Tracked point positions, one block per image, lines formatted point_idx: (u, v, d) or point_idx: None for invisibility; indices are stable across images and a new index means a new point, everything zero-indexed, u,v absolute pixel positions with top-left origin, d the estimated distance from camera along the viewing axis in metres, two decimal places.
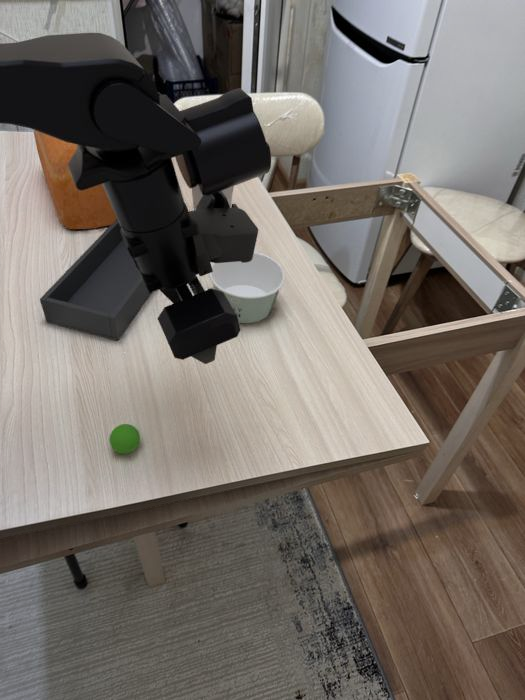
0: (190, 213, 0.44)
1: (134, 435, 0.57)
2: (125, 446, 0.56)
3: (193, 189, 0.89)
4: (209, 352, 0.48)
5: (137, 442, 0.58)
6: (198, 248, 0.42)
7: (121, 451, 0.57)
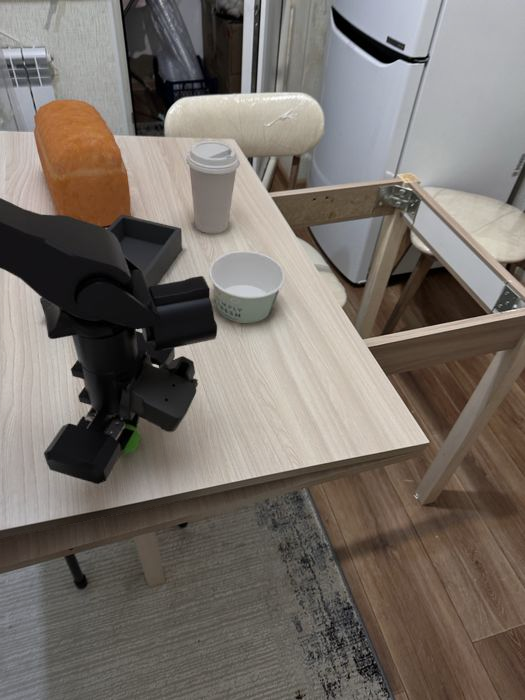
0: (149, 367, 0.50)
1: (134, 434, 0.57)
2: None
3: (193, 189, 0.89)
4: None
5: (137, 442, 0.58)
6: (123, 400, 0.48)
7: None
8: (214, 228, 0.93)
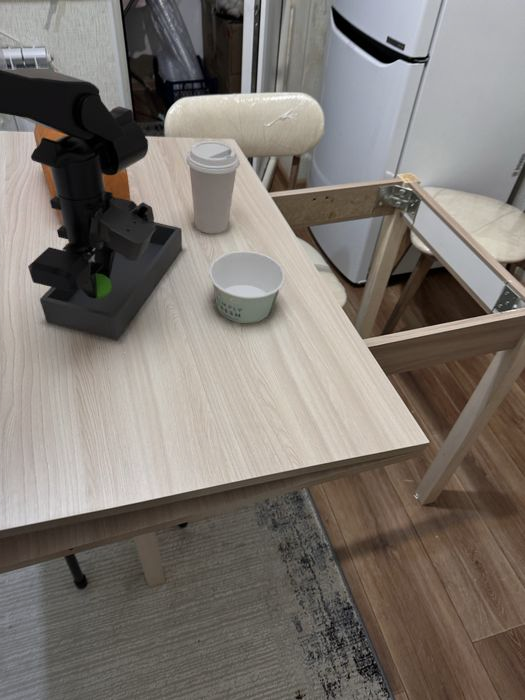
0: (114, 207, 0.61)
1: (106, 280, 0.68)
2: (98, 288, 0.68)
3: (193, 189, 0.89)
4: (88, 288, 0.66)
5: (109, 288, 0.69)
6: (92, 227, 0.59)
7: None
8: (214, 228, 0.93)
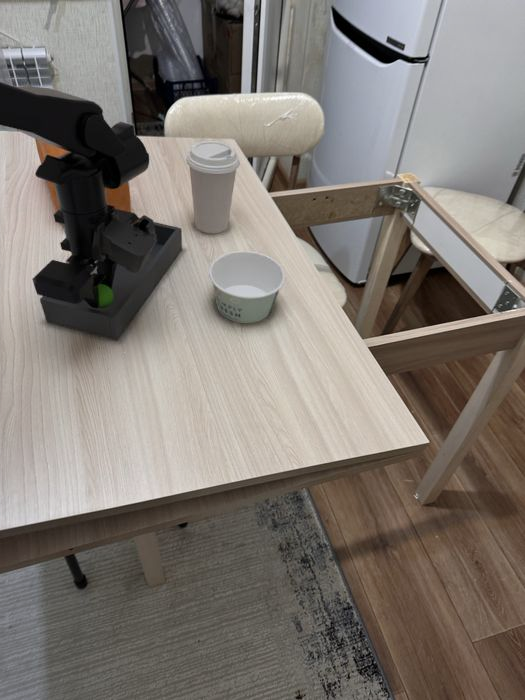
0: (116, 221, 0.63)
1: (108, 291, 0.70)
2: (101, 298, 0.69)
3: (193, 189, 0.89)
4: (90, 298, 0.68)
5: (111, 298, 0.70)
6: (95, 241, 0.60)
7: None
8: (214, 228, 0.93)
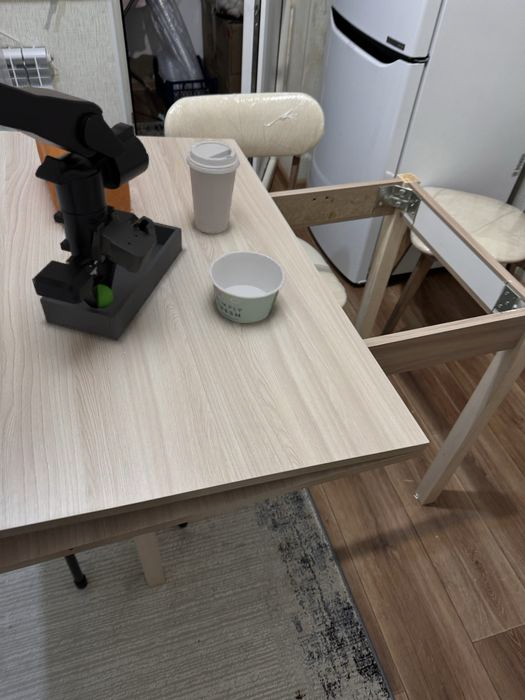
0: (116, 221, 0.63)
1: (107, 291, 0.70)
2: (100, 299, 0.69)
3: (193, 189, 0.89)
4: (90, 299, 0.68)
5: (110, 298, 0.70)
6: (94, 241, 0.60)
7: None
8: (214, 228, 0.93)
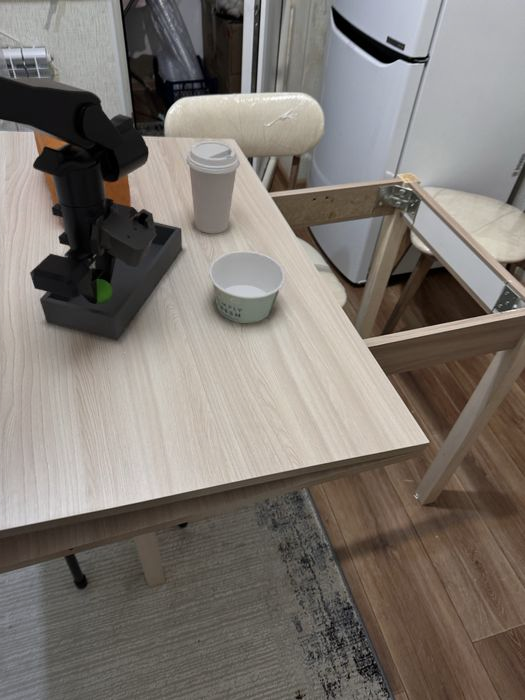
0: (115, 214, 0.62)
1: (106, 286, 0.69)
2: (99, 294, 0.69)
3: (193, 189, 0.89)
4: (89, 294, 0.67)
5: (109, 293, 0.70)
6: (93, 234, 0.60)
7: None
8: (214, 228, 0.93)
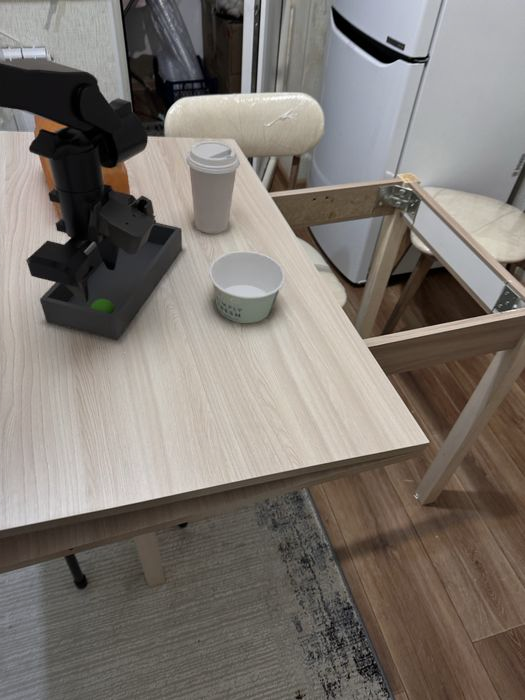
0: (114, 201, 0.61)
1: (109, 306, 0.71)
2: None
3: (193, 189, 0.89)
4: (79, 291, 0.64)
5: None
6: (91, 221, 0.58)
7: None
8: (214, 228, 0.93)
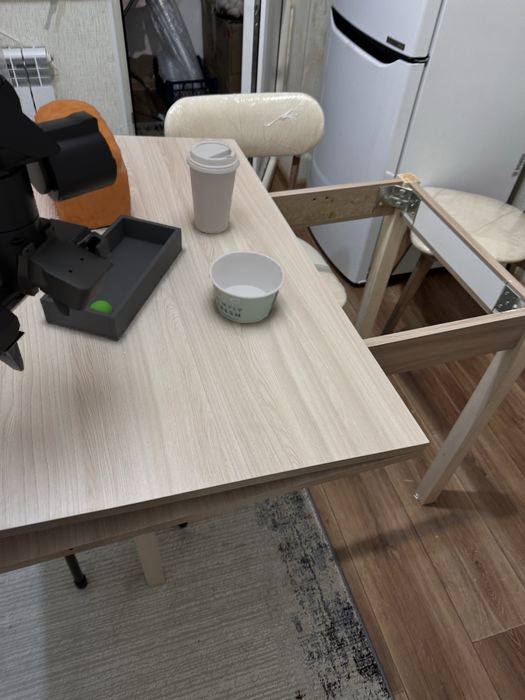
0: (54, 239, 0.45)
1: (106, 310, 0.71)
2: None
3: (193, 189, 0.89)
4: (9, 360, 0.49)
5: None
6: (20, 268, 0.43)
7: None
8: (214, 228, 0.93)
